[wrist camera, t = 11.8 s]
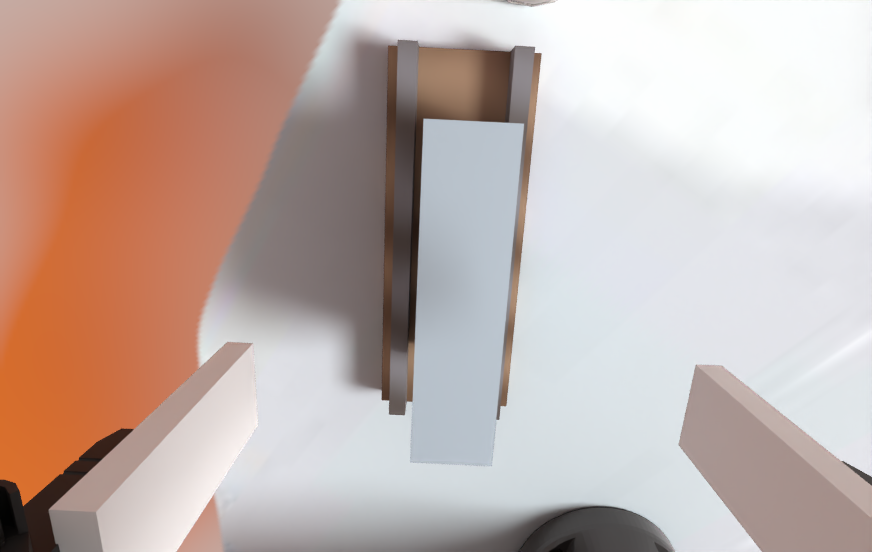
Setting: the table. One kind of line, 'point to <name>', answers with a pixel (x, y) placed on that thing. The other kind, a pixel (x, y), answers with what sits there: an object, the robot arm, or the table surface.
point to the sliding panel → (462, 286)
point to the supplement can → (531, 2)
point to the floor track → (406, 110)
